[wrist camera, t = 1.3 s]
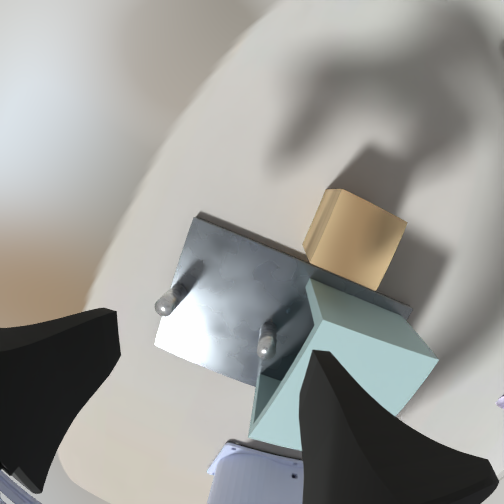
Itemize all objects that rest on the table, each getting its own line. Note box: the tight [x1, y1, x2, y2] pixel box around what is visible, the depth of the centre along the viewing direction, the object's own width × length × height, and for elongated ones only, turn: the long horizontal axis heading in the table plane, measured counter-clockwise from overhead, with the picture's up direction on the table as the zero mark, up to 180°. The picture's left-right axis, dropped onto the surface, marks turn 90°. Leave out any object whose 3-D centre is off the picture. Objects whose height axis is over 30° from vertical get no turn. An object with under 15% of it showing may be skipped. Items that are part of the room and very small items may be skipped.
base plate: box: [155, 217, 413, 387], centre depth 18 cm, size 17×11×4 cm, turn 68°
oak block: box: [302, 189, 407, 291], centre depth 16 cm, size 4×4×5 cm
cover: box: [248, 278, 439, 451], centre depth 16 cm, size 8×9×6 cm
